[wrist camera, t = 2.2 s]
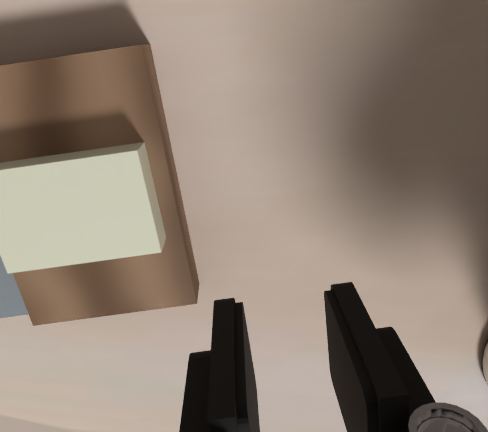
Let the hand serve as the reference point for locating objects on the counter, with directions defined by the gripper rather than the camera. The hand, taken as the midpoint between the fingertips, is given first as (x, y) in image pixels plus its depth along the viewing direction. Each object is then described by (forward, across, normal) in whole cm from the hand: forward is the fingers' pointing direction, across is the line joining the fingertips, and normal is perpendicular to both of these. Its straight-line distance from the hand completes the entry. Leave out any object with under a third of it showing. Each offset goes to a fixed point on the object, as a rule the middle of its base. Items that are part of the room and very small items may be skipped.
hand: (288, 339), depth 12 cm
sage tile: (+15, +10, 0) cm, 18 cm away
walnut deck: (+17, +10, 0) cm, 20 cm away
